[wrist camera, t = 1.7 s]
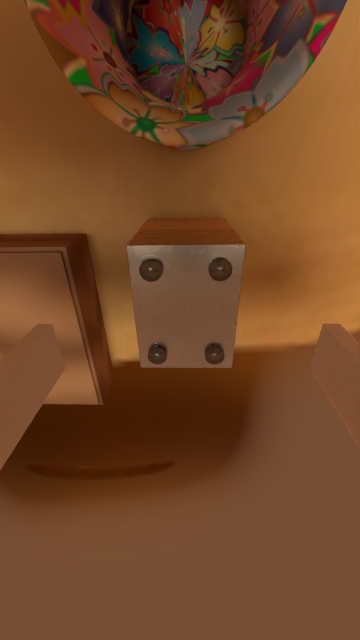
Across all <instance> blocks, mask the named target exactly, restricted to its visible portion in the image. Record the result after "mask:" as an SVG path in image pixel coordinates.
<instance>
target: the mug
mask: <svg viewBox="0 0 360 640" xmlns="http://www.w3.org/2000/svg"><path fill="white" fill-rule="evenodd" d="M24 1H25V3H26V5H27V8H28V10H29V13H30V15H31V17H32V19H33V22H34V24H35V26H36V28H37V30H38V32H39V34H40V36H41V38H42V40H43V41H44V43H45V45H46V47H47V48H48V50H49V52H50V53H51V55H52V57H53V58H54V60H55V61H56V63H57V64H58V66H59V67H60V69H61V70H62V72H63V73H64V75H65V76H66V77H67V78H68V80H69V81H70V82H71V83H72V85H73V86H74V87H75V89H76V90H77V91H78V92H79V93H80V94H81V95H82V96H83V97H84V98H85V99H86V100H87V101H88V102H89V103H90V104H91V105H92V106H93V107H94V108H95V109H96V110H97V111H99V112H100V113H101V114H102V115H104V116H105V117H106V118H108V119H109V120H110V121H112V122H113V123H114V124H116V125H118V126H119V127H121V128H123V129H124V130H126V131H128V132H130V133H132V134H134V135H136V136H139V137H141V138H144V139H147V140H150V141H153V142H157V143H160V144H162V145H164V146H167V147H170V148H174V149H180V150H191V149H197V148H201V147H204V146H207V145H209V144H211V143H213V142H215V141H217V140H220V139H223V138H226V137H228V136H231V135H233V134H235V133H237V132H239V131H241V130H243V129H245V128H246V127H248V126H250V125H251V124H253V123H254V122H256V121H257V120H259V119H260V118H261V117H263V116H264V115H265V114H267V113H268V112H269V111H270V110H272V109H273V108H274V107H275V106H276V105H277V104H278V103H279V102H280V101H281V100H282V99H283V98H285V96H286V95H287V94H288V93H289V92H290V91H291V90H292V89H293V88H294V87H295V85H296V84H297V83H298V82H299V81H300V79H301V78H302V77H303V75H304V74H305V73H306V72H307V70H308V69H309V68H310V66H311V65H312V63H313V62H314V60H315V59H316V57H317V56H318V54H319V53H320V51H321V50H322V48H323V46H324V45H325V43H326V41H327V39H328V38H329V36H330V34H331V32H332V31H333V29H334V27H335V25H336V23H337V20H338V18H339V16H340V14H341V12H342V10H343V8H344V6H345V3H346V1H347V0H24Z"/></svg>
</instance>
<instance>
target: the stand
mask: <svg viewBox="0 0 360 640" xmlns="http://www.w3.org/2000/svg"><path fill="white" fill-rule="evenodd" d="M37 324H53V327H54V331H55V334H56V337H57V341H58V344H59V347H60V351H61V354H62V357H63V361H64V364H65V367H66V368H65V369H64V371H63V372H62V374H61V376H60V377H59V379H58V380H57V382H56V383H55V385H54V387H53V388H52V390H51V391H50V393H49V394H48V396H47V398H46V399H45V401H44V402H43V404H103V403H104V401H105V398H106V395H107V392H108V390H109V387H110V384H111V381H112V379H113V376H114V375H113V370H112V365H111V360H110V355H109V350H108V345H107V339H106V334H105V329H104V324H103V319H102V314H101V309H100V303H99V298H98V293H97V288H96V283H95V278H94V273H93V268H92V262H91V257H90V252H89V247H88V242H87V237H86V234H35V235H0V360H1V359H2V358H3V357H4V356H5V355H6V354H7V353H8V352H9V351H10V350H11V349H12V348H13V347H14V346H15V345H16V344H17V343H18V342H19V341H20V340H21V339H22V338H23V337H24V336H25V335H27V334H28V333H29V332H30V331H31V330H32V329H33V328H34V327H35V326H36V325H37Z"/></svg>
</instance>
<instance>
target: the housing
mask: <svg viewBox="0 0 360 640" xmlns="http://www.w3.org/2000/svg"><path fill="white" fill-rule="evenodd" d="M126 247H127V256H128V264H129V272H130V281H131V289H132V297H133V306H134V314H135V322H136V331H137V339H138V347H139V355H140V364H141V367H182V368H183V367H184V368H188V367H189V368H191V367H192V368H193V367H195V368H200V367H201V368H232V361H233V352H234V343H235V334H236V325H237V316H238V307H239V298H240V289H241V280H242V271H243V262H244V253H245V243H244V242H243V241H242V240H241V238H240V237H239V236H238V234H237V233H236V232H235V231H234V229H233V228H232V227H231V225H230V224H229V223H228V222H227V220H226V219H161V220H147V221H146V222H145V223H144V224H143V226H142V227H141V228H140V229H139V231H138V232H137V233H136V234H135V236H134V237H133V238H132V239H131V241H130V242H129V243H128V244H127V246H126Z"/></svg>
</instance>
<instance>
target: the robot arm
mask: <svg viewBox="0 0 360 640" xmlns="http://www.w3.org/2000/svg"><path fill="white" fill-rule="evenodd" d="M65 368H66V367H65V364H64V361H63V357H62V354H61V351H60V347H59V344H58V341H57V337H56V334H55V331H54V327H53V324H37V325H36V326H35V327H34V328H33V329H32V330H31V331H30V332H29V333H28V334H27V335H25V336H24V337H23V338H22V339H21V340H20V341H19V342H18V343H17V344H16V345H15V346H14V347H13V348H12V349H11V350H10V351H9V352H8V353H7V354H6V355H5V356H4V357H3V358H2V359H1V360H0V470H1V468H2V466H3V465H4V463H5V462H6V460H7V459H8V457H9V456H10V454H11V452H12V451H13V449H14V447H15V446H16V444H17V443H18V441H19V440H20V438H21V437H22V435H23V433H24V432H25V430H26V429H27V427H28V425H29V424H30V423H31V421H32V419H33V418H34V416H35V415H36V413H37V412H38V410H39V408H40V407H41V405H42V404H43V402H44V401H45V399H46V398H47V396H48V394H49V393H50V391H51V390H52V388H53V387H54V385H55V383H56V382H57V380H58V379H59V377H60V376H61V374H62V372H63V371H64V369H65ZM310 370H311V372H312V373H313V375H314V376H315V378H316V380H317V381H318V383H319V384H320V386H321V388H322V389H323V391H324V392H325V394H326V395H327V397H328V398H329V400H330V402H331V403H332V405H333V407H334V408H335V410H336V411H337V413H338V414H339V416H340V418H341V419H342V421H343V422H344V424H345V425H346V427H347V429H348V430H349V432H350V433H351V435H352V437H353V438H354V440H355V441H356V443H357V445H358V446H359V448H360V343H358V342H357V341H356V340H355V339H354V338H353V337H352V336H351V335H350V334H349V333H348V332H347V331H346V330H345V329H344V328H343V327H342V326H341V325H340V324H323V326H322V329H321V333H320V336H319V339H318V343H317V346H316V350H315V353H314V356H313V360H312V363H311V366H310Z"/></svg>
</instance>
